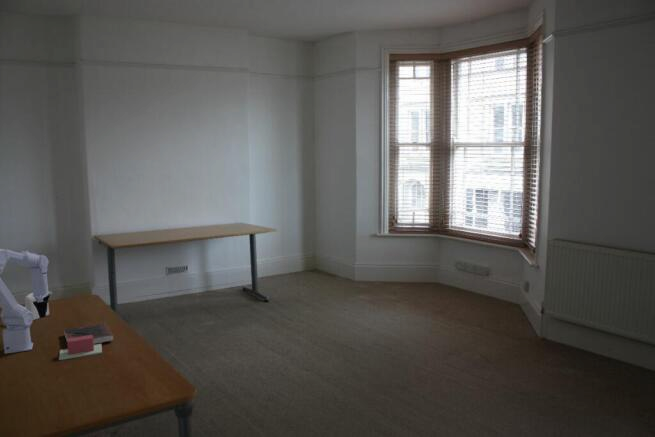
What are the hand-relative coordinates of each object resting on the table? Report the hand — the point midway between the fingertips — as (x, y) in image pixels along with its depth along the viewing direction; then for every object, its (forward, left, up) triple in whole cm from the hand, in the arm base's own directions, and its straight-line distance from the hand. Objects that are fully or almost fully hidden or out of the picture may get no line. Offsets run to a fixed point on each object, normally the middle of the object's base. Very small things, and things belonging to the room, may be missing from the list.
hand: (43, 314), depth 240 cm
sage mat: (+14, -28, -9) cm, 33 cm away
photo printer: (-5, +31, -10) cm, 33 cm away
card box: (+14, -28, -9) cm, 33 cm away
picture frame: (+17, -12, -9) cm, 23 cm away
